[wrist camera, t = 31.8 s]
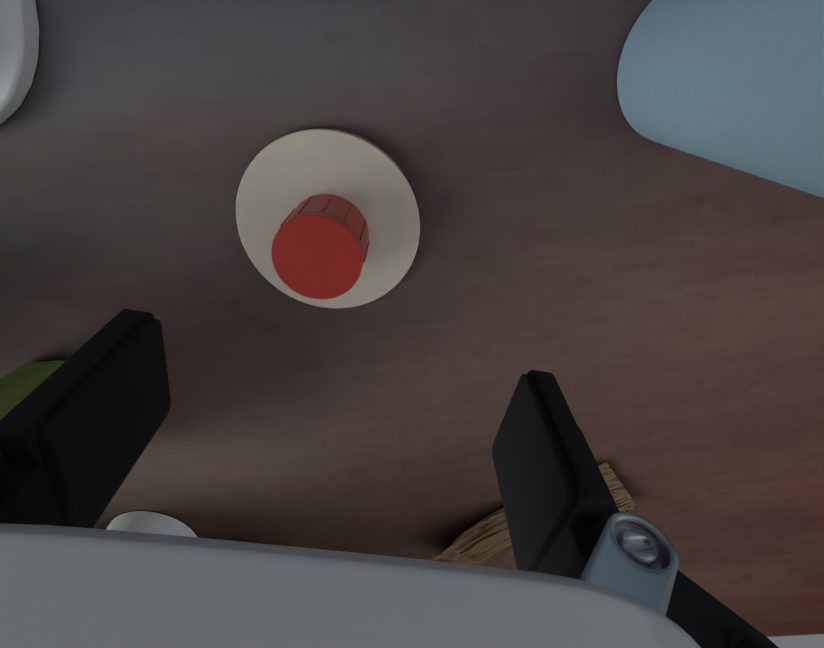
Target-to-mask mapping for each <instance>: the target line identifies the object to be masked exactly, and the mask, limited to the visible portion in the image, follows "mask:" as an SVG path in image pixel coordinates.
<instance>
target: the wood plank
mask: <svg viewBox="0 0 824 648" xmlns="http://www.w3.org/2000/svg"><path fill="white" fill-rule="evenodd" d="M598 467H599V469H600V471H601V473H602V476H603V478H604V480H605V482H606V484H607V486H608V488H609V490H610V493H611V495H612V497H613V499H614V501H615V503H616V505H617V507H618V510H619V512H622V511H627V510H631V509H635V508H637V506H636V504H635V503H634V501H633V499H632V498H631V496H630V495H629V494H628V492H627V491H626V489H625V488H624V486H623V485H622V483H621V482H620V480H619V478H618V477H617V476H616V475H615V473H614V472H613V470H612V469H611V468H610V466H609V465H608V463H607V462H606V463H604V464H601V465H599V466H598ZM510 546H512V543H511V538H510V534H509V529H508V525H507V520H506V516H505V511H504V507H503V508H501V509H499V510H496V511H495V512H493V513H492V514H490V516H488V517H486V518H485V519H483V520H482V521H480V522H478V523H477V524H475V525H474V526H473V527H471V528H470V529H468V530H467V531H465V532H463V533H461V534H460V535H459V536H458V537H457V538H456V539H455V540H454V541H453V543H452V545H451V546H450V547H449V548H447V549H446V550H445V551H444V552H443V553H442V554H441V555H438V556H436V557H434V558H431V559H429V560H434V561H437V560H438V559H439V558H440V559H444V560H445V559H446V560H447V561H448V560H449V561H450V562H453V563H463V564H473V565H480V564H483V563H484V562H486V561H487V560H488V559H490V558H491V557H493V556H494V555H496V554H498V553H499V552H501V551H503V550H505V549H506V548H508V547H510Z"/></svg>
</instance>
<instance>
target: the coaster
mask: <svg viewBox="0 0 824 648" xmlns="http://www.w3.org/2000/svg"><path fill="white" fill-rule="evenodd" d="M320 194H330V195H331V194H333V195H336V196H339V197H342V198H344V199H346V200H348V201H349V202H351V203H353V204H354V206H356V207H357V208H358V210H359V211H360V212H361V213H362V215H363V217H364V218H365V220H366V221H367V226H368V231H369V241H370V242H369V246H368V251H367V255H366V259H365V262H363V266H362V270H361V273H360V276H359V278H358V280H357V282H356V283H355V284H354V286H353V287H352V288H351V289H350V290H348V291H347V292H346V293H344V294H342V295H340V296H338V297H335V298H331V299H313V298H308V297H305V296H302V295H300V294H298V293H296V292H295V291H293V290H292V289H290V288H289V287H288V286H287V285H286V284H285V283H284V282H283V281H282V280H281V279H280V277H279V276H278V274H277V272H276V270H275V268H274V265H273V262H272V257H271V248H272V242H273V239H274V237H275V235H276V233H277V231H278V230H279V229H280V228H281V227H280V225H281V224H282V223H283V221H284V220H285V219H286V218H287V216H288V215H289V214H290V213H291V212H292V210H293V209H294V208H295V209H296V208H297V206H298V205H299V204H300V203H301V202H303V201H304V200H306V199H307V198H309V197H310V196H311V197H312V196H315V195H320ZM236 222H237V227H238V232H239V236H240V239H241V242H242V244H243V247H244V249H245V251H246V253H247V255H248V257H249V258H250V260H251V261H252V263H253V264H254V266H255V267H256V268H257V270H258V271H259V272H260V273H261V274H262V276H263V277H264V278H266V279H267V280H268V281H269V282H270V283H271V284H272V285H273V286H275V287H276V288H277V289H279V290H280V291H282V292H283V293H285V294H286V295H288V296H290V297H292V298H294V299H296V300H298V301H301V302H304V303H307V304H310V305H314V306H318V307H324V308H349V307H355V306H360V305H364V304H366V303H369V302H371V301H374V300H376V299H378V298H380V297H381V296H383V295H385V294H386V293H387V292H389V291H390V290H392V289H393V288H394V287H395V286H396V285H397V284H398V283H399V282H400V281H401V279H402V278H403V277H404V276H405V275H406V273H407V271H408V270H409V268H410V266H411V265H412V262H413V260H414V258H415V255H416V252H417V248H418V245H419V238H420V215H419V208H418V204H417V200H416V197H415V194H414V191H413V189H412V187H411V184H410V182H409V181H408V179H407V177H406V176H405V174H404V172H403V171H402V170H401V168H400V167H399V166H398V164H397V163H396V162H395V161H394V160H393V159H392V158H391V157H390V156H389V155H388V154H387V153H386V152H384V151H383V150H382V149H381V148H379V147H378V146H377V145H375V144H374V143H372V142H370V141H368V140H367V139H365V138H363V137H360V136H358V135H356V134H353V133H350V132H347V131H343V130H339V129H332V128H309V129H303V130H299V131H295V132H292V133H289V134H287V135H285V136H283V137H281V138H279V139H277V140H275V141H273V142H272V143H270V144H269V145H268V146H266V147H265V148H264V149H263V150H261V151H260V152H259V153H258V154H257V155H256V156H255V158H254V159H253V160H252V162H251V163H250V164H249V165H248V167H247V169H246V171H245V173H244V175H243V176H242V179H241V182H240V185H239V188H238V193H237V198H236Z"/></svg>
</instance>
